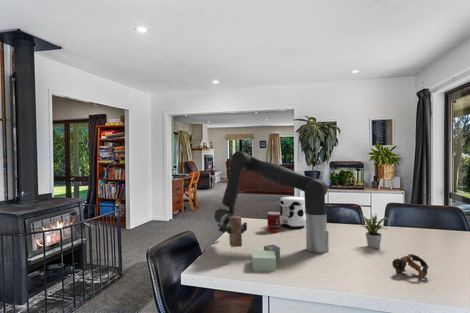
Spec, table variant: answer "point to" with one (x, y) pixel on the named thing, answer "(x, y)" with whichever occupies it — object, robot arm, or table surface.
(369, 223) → the house plant
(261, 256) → the sage block
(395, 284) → the table surface
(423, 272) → the brown arched piece
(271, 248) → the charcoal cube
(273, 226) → the canned food
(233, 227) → the walnut post
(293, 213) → the milk container
